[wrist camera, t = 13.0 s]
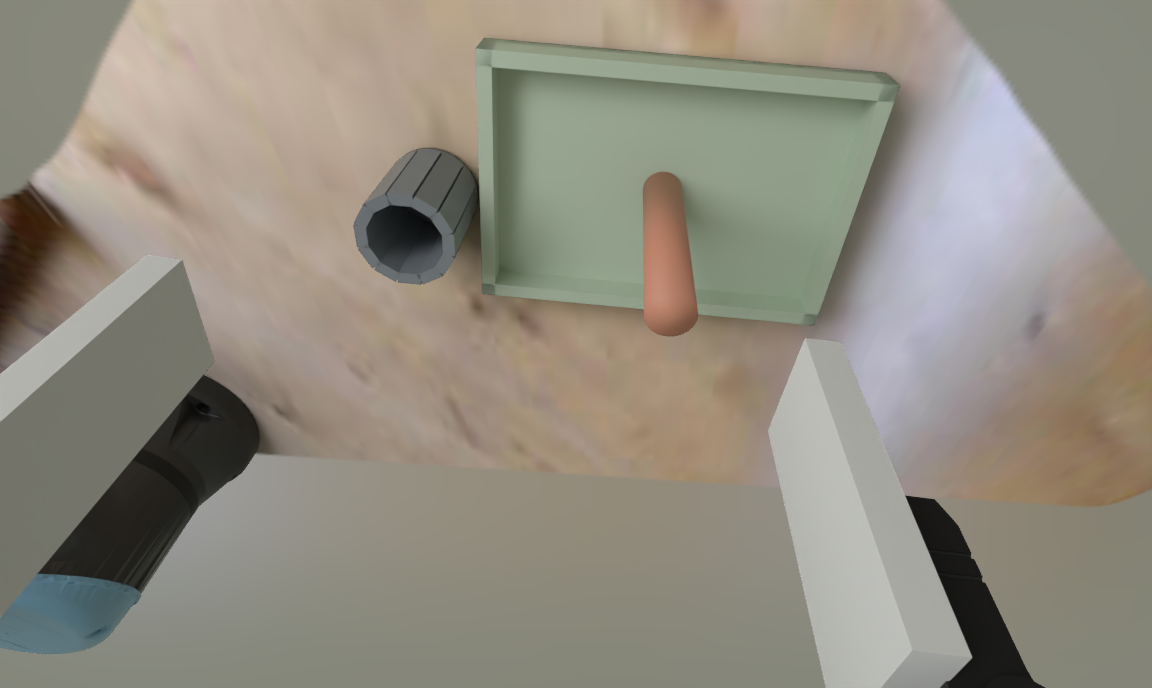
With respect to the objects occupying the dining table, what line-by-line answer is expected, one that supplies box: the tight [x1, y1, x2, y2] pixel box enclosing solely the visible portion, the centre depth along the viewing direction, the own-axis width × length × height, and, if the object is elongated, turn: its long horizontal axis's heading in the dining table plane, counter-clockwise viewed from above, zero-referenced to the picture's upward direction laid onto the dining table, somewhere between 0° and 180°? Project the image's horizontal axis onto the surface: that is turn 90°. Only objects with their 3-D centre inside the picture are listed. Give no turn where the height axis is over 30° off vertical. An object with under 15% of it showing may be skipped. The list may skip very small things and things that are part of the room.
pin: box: [643, 172, 698, 336], centre depth 40 cm, size 6×3×16 cm, turn 86°
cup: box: [353, 148, 478, 285], centre depth 45 cm, size 7×7×8 cm
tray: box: [475, 38, 900, 325], centre depth 46 cm, size 26×18×3 cm
